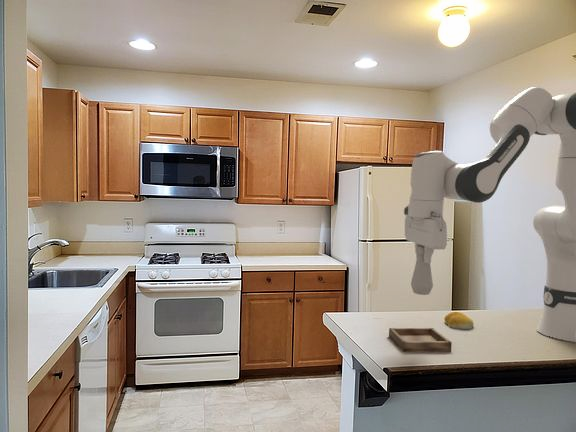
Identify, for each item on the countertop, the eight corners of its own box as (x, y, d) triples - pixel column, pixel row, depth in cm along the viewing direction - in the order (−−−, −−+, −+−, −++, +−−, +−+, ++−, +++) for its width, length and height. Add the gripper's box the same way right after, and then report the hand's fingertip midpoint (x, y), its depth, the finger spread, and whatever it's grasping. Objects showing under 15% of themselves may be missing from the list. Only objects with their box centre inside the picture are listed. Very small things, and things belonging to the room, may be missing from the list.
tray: (432, 336, 133) (432, 327, 133) (451, 351, 121) (451, 342, 121) (388, 336, 131) (389, 328, 131) (403, 351, 119) (404, 342, 119)
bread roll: (452, 330, 140) (453, 317, 139) (441, 321, 149) (441, 309, 148) (478, 330, 140) (479, 317, 140) (465, 321, 149) (466, 309, 149)
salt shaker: (433, 296, 122) (435, 248, 121) (411, 294, 123) (413, 246, 122) (431, 291, 127) (433, 245, 126) (410, 289, 129) (412, 244, 128)
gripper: (455, 213, 114) (452, 268, 115) (422, 209, 134) (420, 255, 135) (430, 213, 113) (427, 268, 114) (401, 208, 133) (399, 255, 134)
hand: (423, 261), depth 124 cm, fingers closed on salt shaker, 3 cm apart
